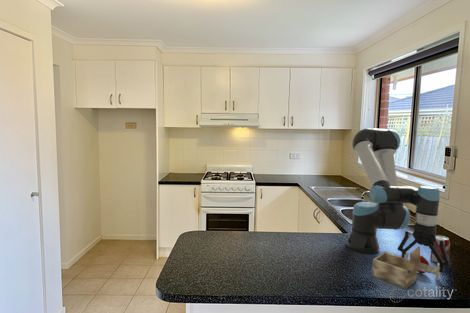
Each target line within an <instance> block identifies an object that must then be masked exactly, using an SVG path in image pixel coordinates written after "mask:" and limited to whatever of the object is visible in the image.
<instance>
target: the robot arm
mask: <svg viewBox="0 0 470 313" xmlns="http://www.w3.org/2000/svg"><path fill="white" fill-rule="evenodd" d="M353 136H354V137H353V139H352V148H353V151H354V153H355V154H356V155H358V158H359V160H360V162H361V165H362V168H363V169H364V172H365V174H366V175H367V178H368V181H369V183H370V185H371V186H370V188H369V191H368V194H369V198H370V200H371V201H359V202H356V203H355V204H354V205H353V209H352V212H351V213H352V219H351V220H352V222H351V230H350V231H351V232H350V233H349V235H348V238H347V240H346V246H347V247H348V248H349V249H350V250H352V251H356V252H359V253H363V254H376V253H377V254H378V252H379V251H380V245H379V244H380V243H379V241H378V237H377V230H378V229H379V230H394V231H395V230H396V231H397V230H405V229H406V228H407V227H408V226H409V224H410V221H411V212H410V210H409V209H408V207H406V206H404V204H408V205H409V204H411V205H414V206H416V207H415V217H414V220H415V222H414V229H413V231H410V230H409V229H408V230H406V231H405V232H404V237H403V239H402V240H401V242H400V243H399V246H398V247H397V251H399V252H401V257H402V258H405V259H408V260H409V252H408V251H409V250H410V249H411V248H413V247H414V246H415V245H416V244H418V245H421V246H425V247H428V248H429V249H430V251H431V250H432V252H433V254H434V255H435V257H436V259H437V260H438V262H439V263H438V264H437V263H436V264H437V265H436V267H439V268H440V270H439V271H438V273H437V274H436V275H435V281H439V280H440V277H441V274H442V273H443V272H444V270H445V269H444V268H445V266H449V265H450V264H451V261H450V258H449V257H448V254H447V251H446V248H445V240H444V239H442V240H441V239H437V238H436V235H437V225H438V214H439V206H440V199H441V198H440V192H441V191H440V189H439V188H438V187H435V186H429V185H419V186H418V187H416V186H413V185H407V184H406V185H403V186H398V179H397V171H396V164H395V156H394V155H395V154H396V153H397V150H398V149H400V147H401V145H400V144H401V138H400V134H399V133H398V132H397V131H396V130H394V129H389V128H370V127H369V128H363V129H360V130H359V131H357V132H356V133H355V135H353ZM411 236H413V238H414V240H413V241H411V243H410V244H408V245H407V246H406V247H405V248H404V246H405V245H406V243H407V242H408V240H409V238H410V237H411ZM435 241H437V243H438V244H439V246H440V250H441V253H442V256H443V259H444V260H443V259H442V257H441V255H440V254H439V252H438V250H437V249H436V247H435V245H434V242H435Z"/></svg>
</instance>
